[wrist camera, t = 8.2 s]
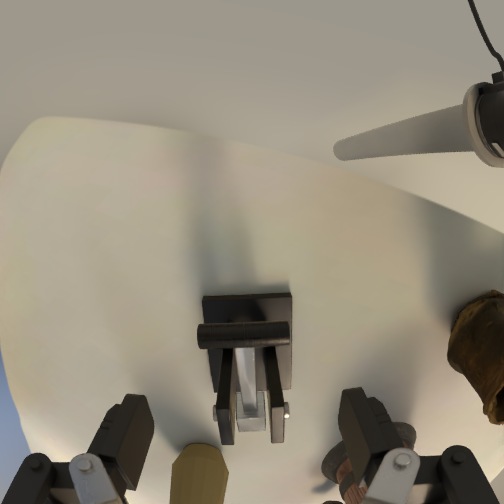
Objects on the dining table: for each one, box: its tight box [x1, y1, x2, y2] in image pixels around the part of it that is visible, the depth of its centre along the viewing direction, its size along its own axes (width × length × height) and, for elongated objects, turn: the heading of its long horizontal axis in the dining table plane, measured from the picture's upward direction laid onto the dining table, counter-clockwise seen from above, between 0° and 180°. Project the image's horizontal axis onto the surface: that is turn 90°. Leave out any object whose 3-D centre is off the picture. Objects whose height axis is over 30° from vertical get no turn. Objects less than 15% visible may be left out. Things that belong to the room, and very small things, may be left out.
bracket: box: [202, 292, 292, 445], centre depth 27 cm, size 12×9×13 cm
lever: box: [197, 320, 290, 432], centre depth 20 cm, size 12×5×2 cm, turn 3°
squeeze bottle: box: [170, 443, 229, 504], centre depth 29 cm, size 8×8×18 cm
